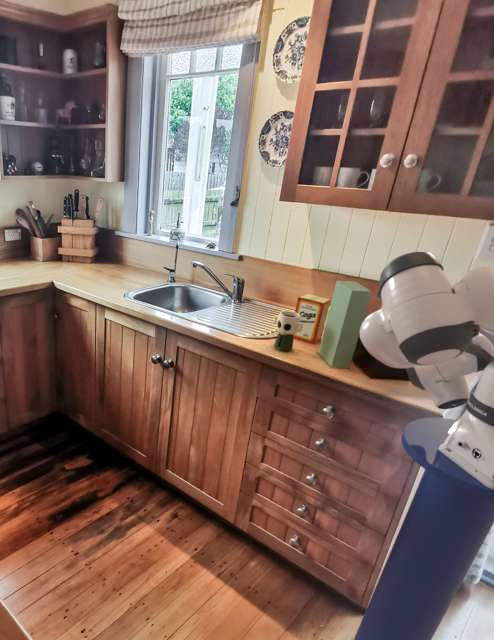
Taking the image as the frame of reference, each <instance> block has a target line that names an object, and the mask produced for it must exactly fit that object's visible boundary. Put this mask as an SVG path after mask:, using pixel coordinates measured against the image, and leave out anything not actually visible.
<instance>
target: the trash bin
mask: <svg viewBox="0 0 494 640" xmlns="http://www.w3.org/2000/svg"><path fill="white" fill-rule="evenodd" d="M351 362H353V363H354V364H355V365H356V366H357V367H358V368H359V369H360V370H361V371H362V372H363V373H364V374H365V375H366V376H367V377H368V378H369V379H370V380H371V379H373V380H392V381H410V379H409V376H408V374H407V371H406V368H393V367H390V366H387V365H385V364H383V363H382V362H380V361H379V360H377V359H376V358H374V357H373V356H372V355H371V354H370V353H369V352H368V351H367V349H366V348H365V347H364V345H363V343H362V341H361V339H360V333H359V337H358V340H357V344H356V347H355V350H354V354H353V357H352V361H351Z"/></svg>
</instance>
